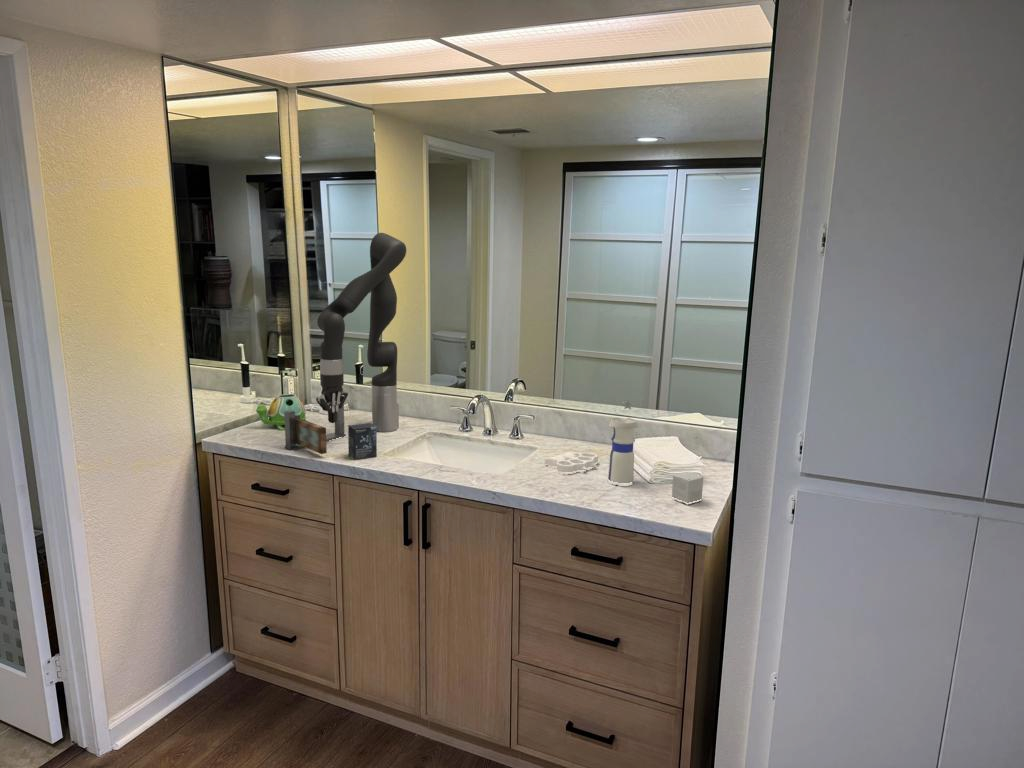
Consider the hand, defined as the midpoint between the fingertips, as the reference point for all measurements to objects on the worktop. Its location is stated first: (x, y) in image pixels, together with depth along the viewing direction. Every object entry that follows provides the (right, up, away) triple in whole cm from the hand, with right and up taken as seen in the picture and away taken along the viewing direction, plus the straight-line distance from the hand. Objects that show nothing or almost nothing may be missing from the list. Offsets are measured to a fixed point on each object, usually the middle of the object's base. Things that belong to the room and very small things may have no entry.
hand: (332, 422), depth 237 cm
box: (+11, -11, -6) cm, 17 cm away
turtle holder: (-26, -3, +29) cm, 39 cm away
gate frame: (-8, -7, +10) cm, 15 cm away
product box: (+110, -20, -39) cm, 118 cm away
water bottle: (+93, -17, -25) cm, 98 cm away
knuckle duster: (+80, -14, -11) cm, 82 cm away
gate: (-7, -8, -3) cm, 11 cm away
